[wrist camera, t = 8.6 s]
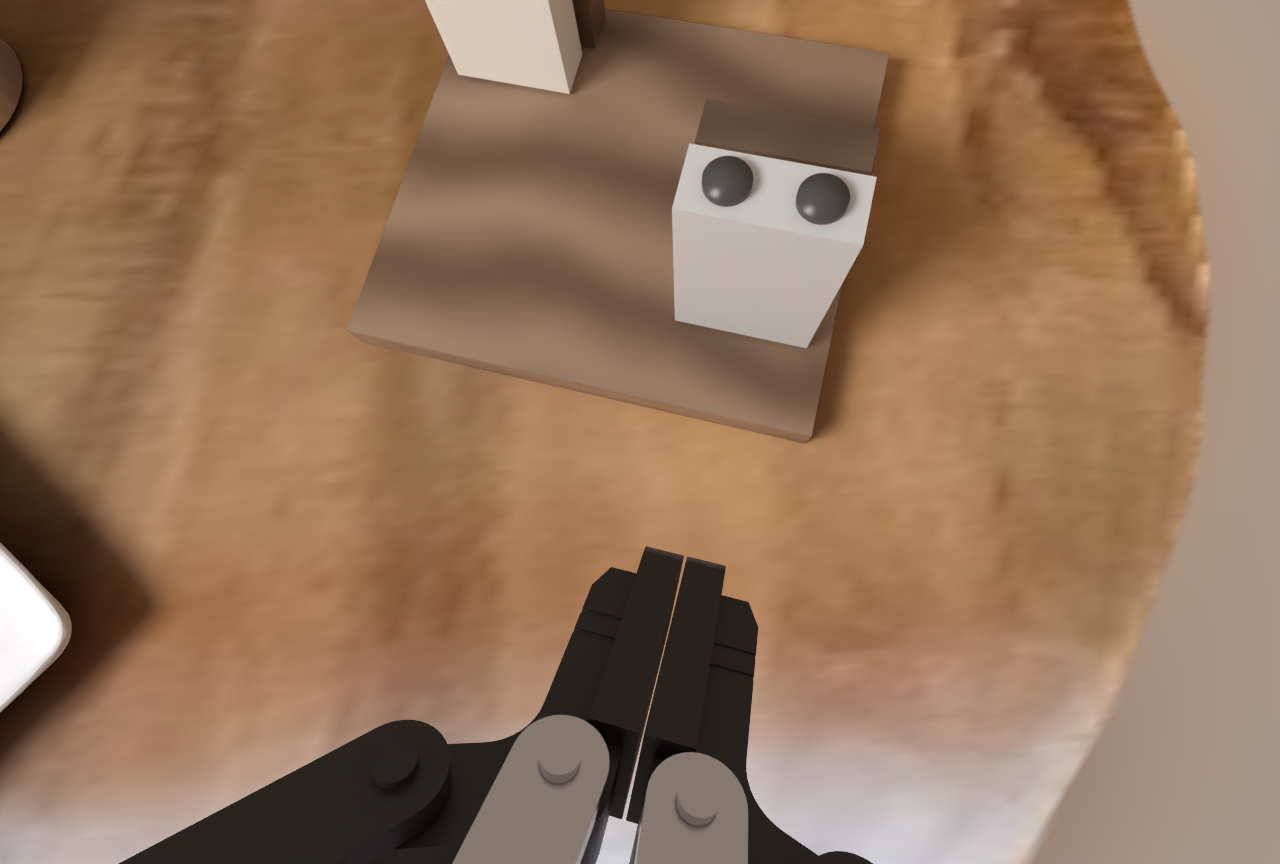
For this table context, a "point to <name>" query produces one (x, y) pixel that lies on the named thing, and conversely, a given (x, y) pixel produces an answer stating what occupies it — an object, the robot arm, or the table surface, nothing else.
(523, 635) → the table surface
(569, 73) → the tile one
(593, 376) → the brown piece
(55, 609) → the salad plate
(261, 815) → the robot arm
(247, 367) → the table surface
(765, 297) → the tile two
